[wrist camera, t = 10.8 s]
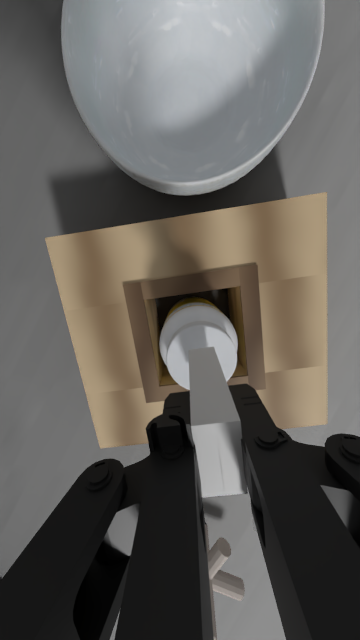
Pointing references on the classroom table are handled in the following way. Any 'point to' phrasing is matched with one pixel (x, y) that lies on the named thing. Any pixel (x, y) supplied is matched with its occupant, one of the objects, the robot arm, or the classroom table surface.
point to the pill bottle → (196, 337)
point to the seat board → (190, 277)
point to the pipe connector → (221, 575)
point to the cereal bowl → (189, 82)
